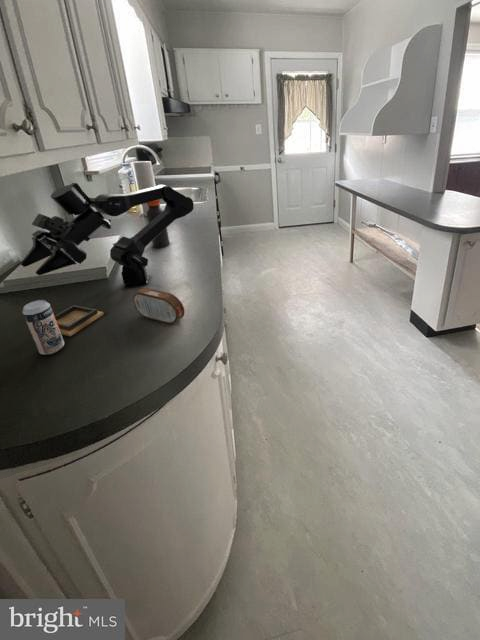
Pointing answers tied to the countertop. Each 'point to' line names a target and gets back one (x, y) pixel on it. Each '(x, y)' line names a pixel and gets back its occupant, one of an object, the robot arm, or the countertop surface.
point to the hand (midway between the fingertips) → (29, 269)
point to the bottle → (152, 213)
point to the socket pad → (76, 319)
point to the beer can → (43, 327)
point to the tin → (158, 305)
